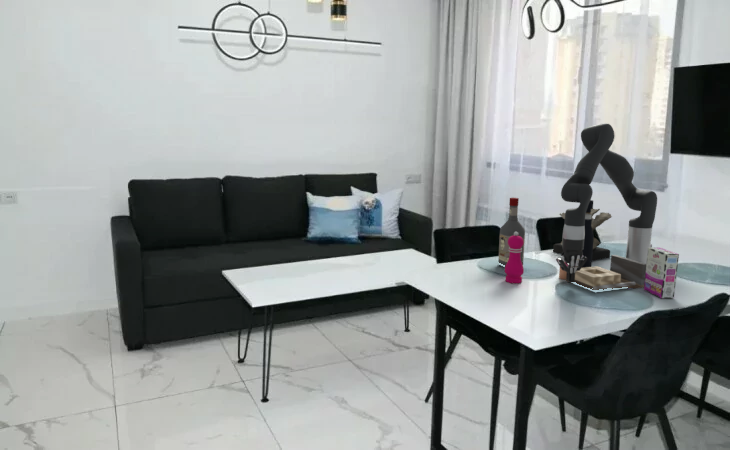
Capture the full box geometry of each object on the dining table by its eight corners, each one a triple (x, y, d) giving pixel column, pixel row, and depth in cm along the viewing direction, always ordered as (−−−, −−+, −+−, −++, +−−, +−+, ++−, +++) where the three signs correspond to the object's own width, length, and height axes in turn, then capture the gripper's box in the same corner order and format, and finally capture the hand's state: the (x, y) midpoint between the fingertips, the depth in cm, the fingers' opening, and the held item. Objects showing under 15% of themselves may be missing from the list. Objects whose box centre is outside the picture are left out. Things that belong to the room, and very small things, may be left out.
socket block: (595, 276, 215) (596, 266, 214) (620, 285, 203) (621, 274, 202) (569, 279, 211) (570, 268, 210) (592, 288, 199) (593, 277, 198)
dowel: (565, 276, 220) (567, 257, 218) (572, 279, 215) (574, 259, 214) (556, 277, 218) (557, 258, 217) (563, 280, 214) (565, 260, 213)
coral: (547, 250, 266) (550, 207, 262) (576, 246, 275) (579, 204, 271) (589, 261, 244) (593, 214, 240) (619, 256, 253) (623, 211, 249)
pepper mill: (512, 284, 208) (515, 234, 204) (500, 280, 214) (502, 230, 210) (527, 282, 211) (529, 232, 207) (514, 277, 217) (516, 229, 214)
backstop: (613, 276, 220) (615, 254, 218) (645, 287, 205) (647, 264, 203) (565, 281, 212) (567, 259, 211) (594, 293, 197) (596, 269, 196)
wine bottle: (592, 273, 224) (598, 201, 219) (576, 272, 226) (581, 201, 220) (589, 269, 231) (595, 199, 225) (573, 268, 232) (578, 199, 226)
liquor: (513, 262, 241) (517, 196, 235) (525, 268, 232) (529, 199, 227) (495, 264, 238) (499, 197, 232) (507, 269, 229) (511, 200, 224)
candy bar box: (675, 298, 191) (680, 253, 188) (661, 299, 191) (666, 254, 188) (655, 289, 202) (660, 246, 199) (643, 289, 202) (647, 247, 199)
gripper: (581, 233, 205) (577, 277, 208) (552, 236, 201) (549, 280, 204) (595, 237, 198) (591, 283, 201) (565, 240, 194) (562, 286, 197)
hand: (570, 281), depth 203 cm, fingers closed
